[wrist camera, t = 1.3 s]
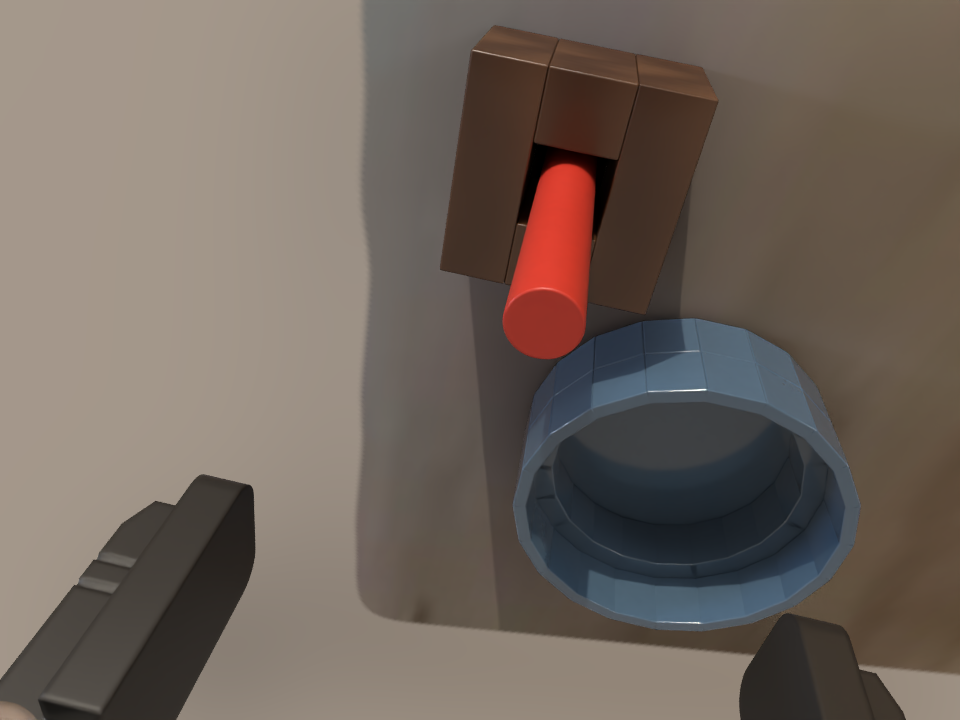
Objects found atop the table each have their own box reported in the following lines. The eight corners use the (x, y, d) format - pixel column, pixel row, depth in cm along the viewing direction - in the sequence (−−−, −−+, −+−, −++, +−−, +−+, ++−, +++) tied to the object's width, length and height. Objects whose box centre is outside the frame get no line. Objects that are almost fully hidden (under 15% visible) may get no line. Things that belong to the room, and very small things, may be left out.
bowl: (878, 352, 31) (928, 439, 26) (756, 562, 39) (777, 659, 34) (562, 282, 32) (552, 354, 27) (505, 503, 40) (489, 590, 35)
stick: (603, 130, 28) (595, 298, 16) (591, 179, 29) (574, 368, 18) (553, 120, 28) (510, 280, 17) (543, 168, 29) (495, 350, 18)
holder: (703, 67, 26) (719, 100, 22) (641, 258, 31) (645, 315, 27) (493, 24, 27) (471, 49, 22) (462, 219, 31) (439, 270, 27)
